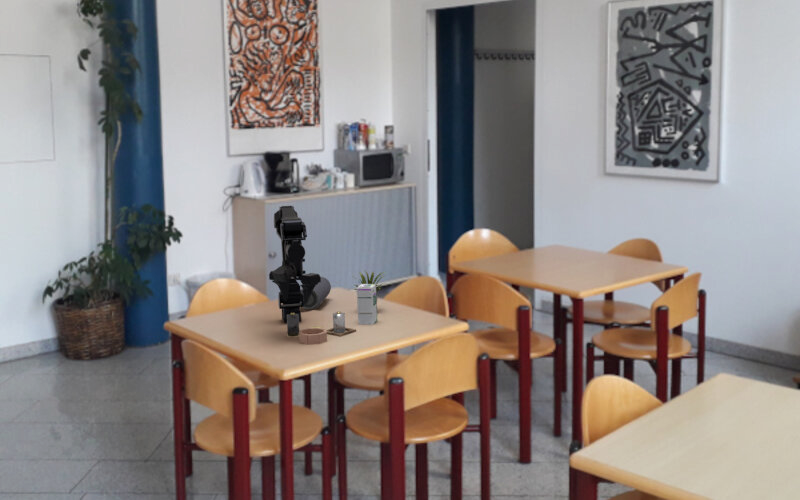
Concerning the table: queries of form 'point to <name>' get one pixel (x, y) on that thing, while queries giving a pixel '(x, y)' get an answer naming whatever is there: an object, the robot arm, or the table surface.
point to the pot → (312, 336)
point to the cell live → (339, 322)
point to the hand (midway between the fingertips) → (295, 302)
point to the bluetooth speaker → (318, 294)
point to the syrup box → (367, 304)
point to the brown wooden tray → (341, 333)
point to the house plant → (370, 280)
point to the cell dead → (293, 324)
